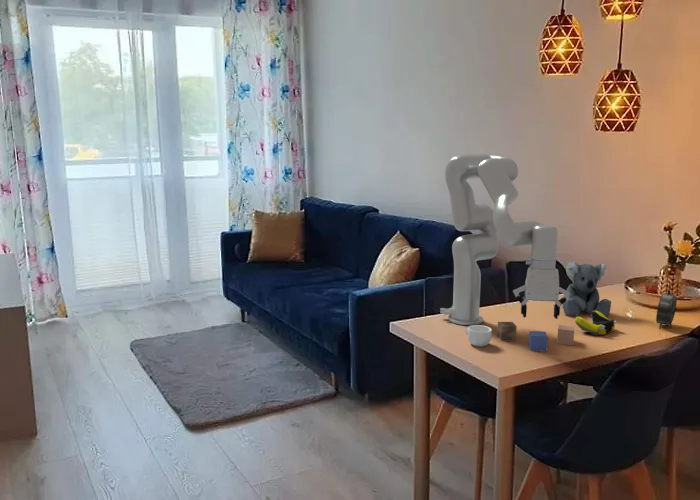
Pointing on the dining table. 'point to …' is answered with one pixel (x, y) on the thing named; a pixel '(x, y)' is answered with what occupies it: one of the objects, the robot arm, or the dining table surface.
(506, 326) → the walnut block
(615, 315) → the dining table surface
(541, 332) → the blue cube
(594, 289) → the koala plush
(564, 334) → the beige cube
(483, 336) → the teacup
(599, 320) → the yellow black angled piece
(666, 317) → the alarm clock
